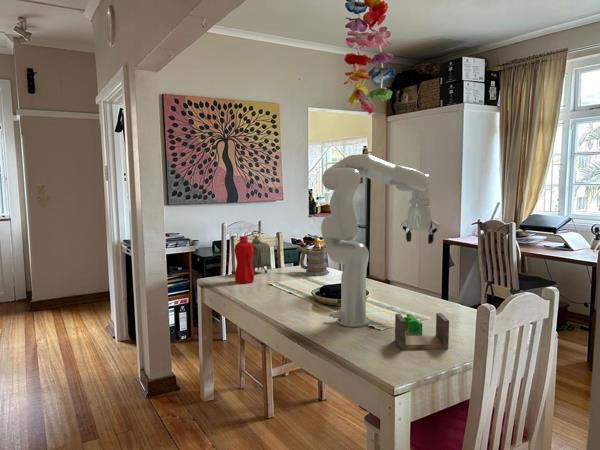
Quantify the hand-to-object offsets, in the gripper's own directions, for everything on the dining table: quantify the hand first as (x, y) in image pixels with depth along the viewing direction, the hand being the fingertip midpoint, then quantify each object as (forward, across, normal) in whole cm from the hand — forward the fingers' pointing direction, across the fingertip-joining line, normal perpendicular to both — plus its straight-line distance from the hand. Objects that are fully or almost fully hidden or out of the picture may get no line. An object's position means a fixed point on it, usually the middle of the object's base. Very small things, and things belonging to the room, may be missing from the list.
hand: (419, 242), depth 193 cm
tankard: (+28, -77, +27) cm, 86 cm away
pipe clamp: (+28, +10, -32) cm, 44 cm away
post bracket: (+28, +19, -43) cm, 55 cm away
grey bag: (+28, -104, +8) cm, 108 cm away
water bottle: (+28, -92, -13) cm, 98 cm away
